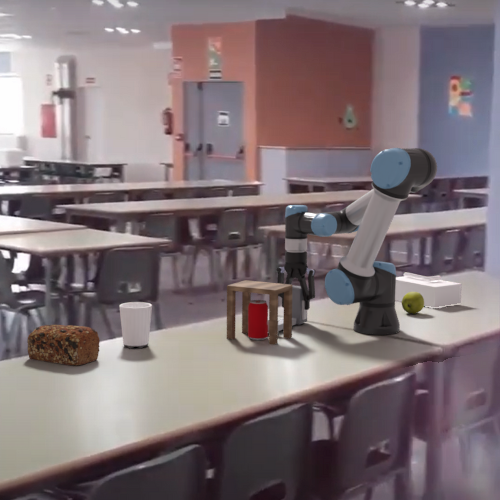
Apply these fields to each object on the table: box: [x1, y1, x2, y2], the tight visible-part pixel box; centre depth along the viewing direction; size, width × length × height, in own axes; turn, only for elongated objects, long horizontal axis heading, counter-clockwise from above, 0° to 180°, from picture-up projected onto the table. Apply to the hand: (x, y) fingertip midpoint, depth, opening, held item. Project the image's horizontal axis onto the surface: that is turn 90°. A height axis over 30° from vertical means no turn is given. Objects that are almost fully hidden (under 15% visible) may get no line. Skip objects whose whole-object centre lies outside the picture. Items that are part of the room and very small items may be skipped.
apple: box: [401, 292, 424, 314], centre depth 334 cm, size 8×9×8 cm
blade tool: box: [268, 285, 308, 334], centre depth 307 cm, size 6×23×12 cm, turn 151°
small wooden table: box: [226, 279, 293, 346], centre depth 291 cm, size 17×12×17 cm
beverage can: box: [247, 299, 269, 341], centre depth 291 cm, size 6×6×12 cm
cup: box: [118, 301, 153, 349], centre depth 279 cm, size 10×10×13 cm
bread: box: [27, 324, 101, 366], centre depth 263 cm, size 19×11×10 cm, turn 60°
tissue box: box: [395, 271, 462, 307], centre depth 357 cm, size 14×25×11 cm, turn 35°
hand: (295, 317), depth 315 cm, fingers closed on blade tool, 6 cm apart
